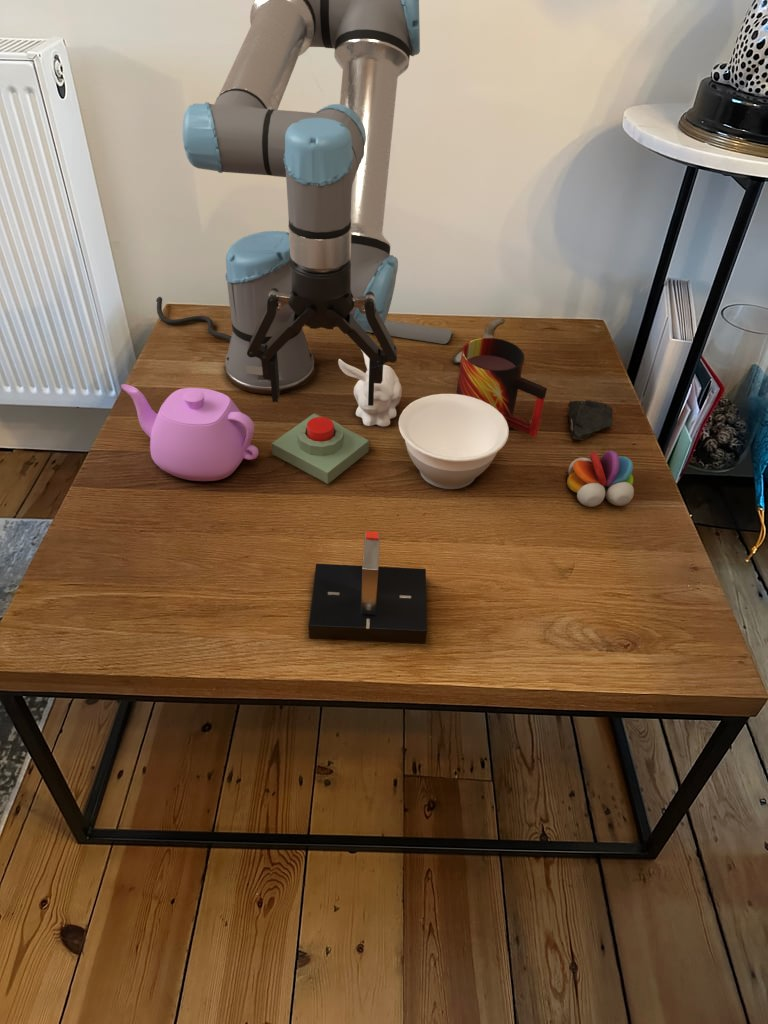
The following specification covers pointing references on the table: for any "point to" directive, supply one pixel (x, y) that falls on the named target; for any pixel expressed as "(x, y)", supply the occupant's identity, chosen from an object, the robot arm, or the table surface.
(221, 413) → the teapot
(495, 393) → the mug
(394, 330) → the half round rod
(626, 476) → the rainbow petal toy
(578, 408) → the rock
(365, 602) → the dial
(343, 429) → the button box
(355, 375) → the rabbit
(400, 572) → the control panel
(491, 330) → the skull
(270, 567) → the table surface
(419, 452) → the bowl
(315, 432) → the button
